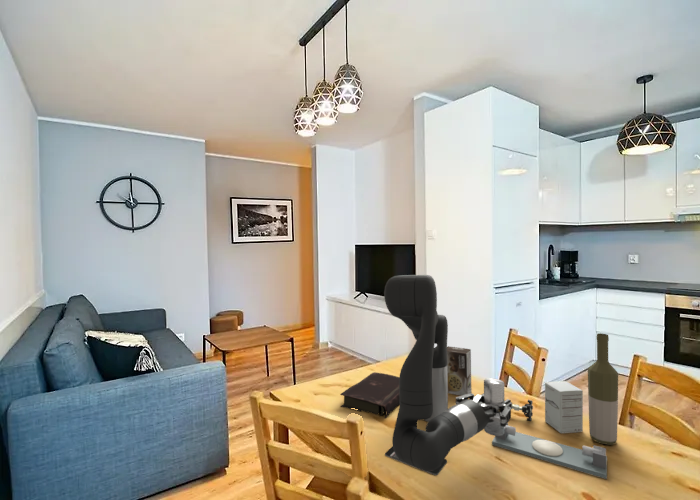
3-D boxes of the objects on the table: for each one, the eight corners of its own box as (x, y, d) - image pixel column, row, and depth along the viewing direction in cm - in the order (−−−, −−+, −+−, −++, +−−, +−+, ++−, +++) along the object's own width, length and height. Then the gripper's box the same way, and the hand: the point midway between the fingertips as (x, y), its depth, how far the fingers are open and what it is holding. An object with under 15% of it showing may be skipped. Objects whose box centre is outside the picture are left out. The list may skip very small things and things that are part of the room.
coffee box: (472, 391, 136) (471, 348, 136) (467, 397, 131) (467, 353, 130) (448, 386, 141) (447, 345, 141) (443, 392, 136) (442, 349, 135)
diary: (414, 392, 138) (414, 379, 138) (386, 421, 116) (386, 405, 116) (371, 382, 147) (371, 370, 147) (338, 407, 126) (338, 393, 126)
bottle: (609, 450, 97) (608, 339, 96) (582, 437, 103) (582, 333, 102) (624, 443, 100) (623, 335, 99) (597, 431, 106) (596, 330, 105)
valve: (489, 415, 117) (529, 425, 110) (488, 395, 117) (529, 404, 110) (493, 407, 123) (533, 417, 116) (493, 388, 123) (532, 396, 116)
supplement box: (544, 421, 112) (543, 381, 112) (566, 420, 113) (566, 380, 113) (560, 434, 105) (559, 391, 105) (583, 432, 106) (583, 389, 106)
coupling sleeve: (481, 432, 94) (481, 383, 94) (486, 423, 98) (486, 376, 98) (502, 438, 91) (501, 387, 91) (506, 429, 95) (506, 380, 95)
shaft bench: (492, 444, 100) (492, 429, 100) (500, 430, 108) (499, 416, 107) (606, 479, 85) (606, 461, 85) (607, 460, 92) (606, 443, 92)
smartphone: (436, 474, 87) (383, 454, 96) (436, 477, 87) (383, 456, 96) (448, 459, 93) (397, 441, 102) (448, 462, 93) (397, 444, 102)
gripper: (490, 416, 80) (526, 394, 91) (437, 395, 91) (474, 377, 102) (490, 449, 80) (526, 423, 91) (437, 424, 91) (475, 403, 102)
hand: (498, 399), depth 96 cm, fingers closed on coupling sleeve, 5 cm apart
